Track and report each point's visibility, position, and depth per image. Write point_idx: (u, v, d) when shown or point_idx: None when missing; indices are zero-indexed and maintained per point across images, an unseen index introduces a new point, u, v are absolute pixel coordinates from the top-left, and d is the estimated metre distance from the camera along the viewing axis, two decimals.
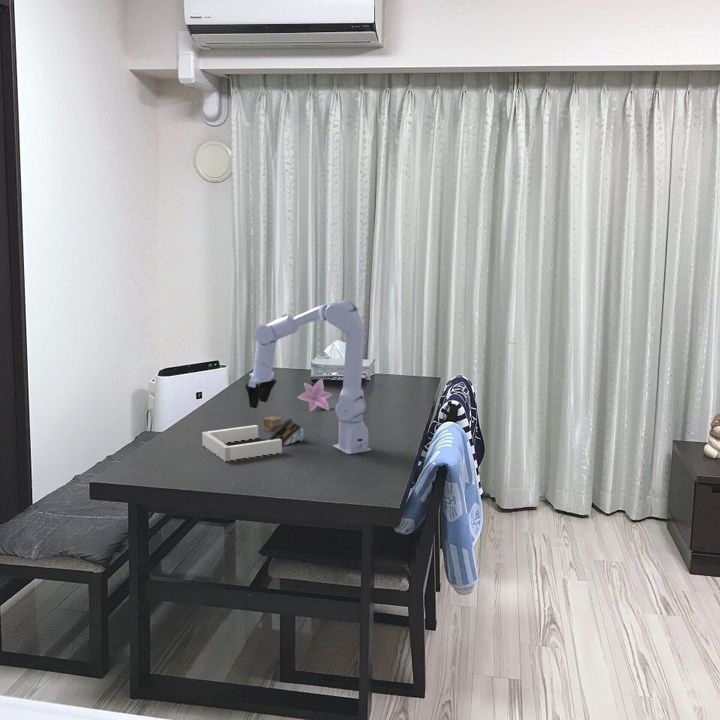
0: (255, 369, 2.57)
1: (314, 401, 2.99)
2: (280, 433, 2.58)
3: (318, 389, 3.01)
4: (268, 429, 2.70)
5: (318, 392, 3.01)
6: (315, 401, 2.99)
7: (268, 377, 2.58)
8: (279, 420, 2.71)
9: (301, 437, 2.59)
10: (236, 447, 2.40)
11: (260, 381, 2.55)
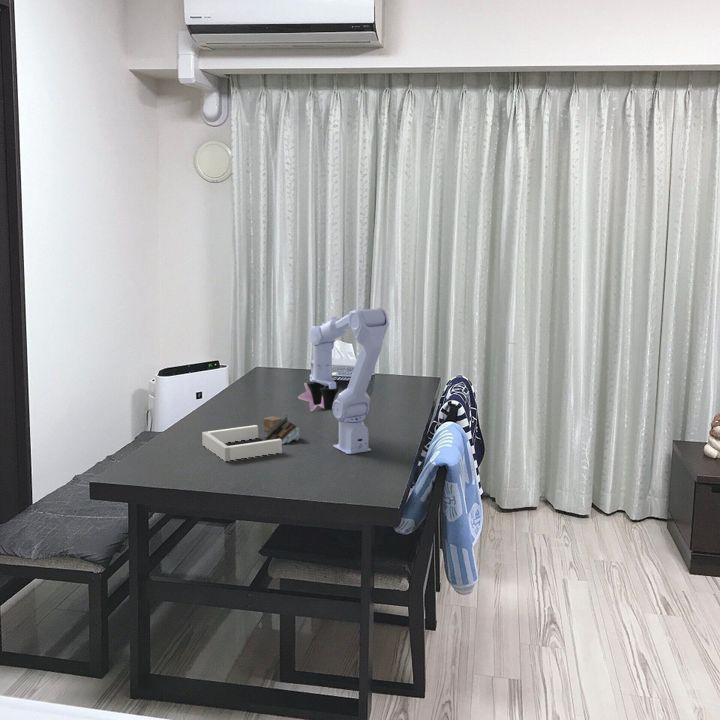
0: (321, 372, 2.58)
1: None
2: (276, 432, 2.59)
3: None
4: (268, 429, 2.70)
5: None
6: None
7: (331, 376, 2.62)
8: (279, 420, 2.71)
9: (297, 436, 2.60)
10: (236, 447, 2.40)
11: (333, 381, 2.58)
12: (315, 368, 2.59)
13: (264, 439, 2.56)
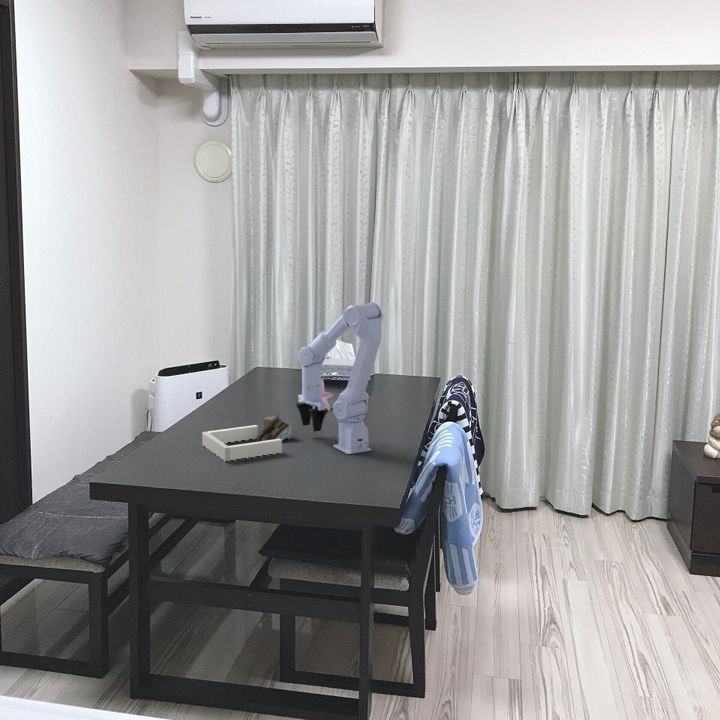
0: (310, 393, 2.57)
1: None
2: (269, 431, 2.60)
3: None
4: None
5: None
6: None
7: (320, 397, 2.60)
8: None
9: (289, 435, 2.61)
10: (236, 447, 2.40)
11: (322, 402, 2.57)
12: (304, 389, 2.58)
13: (257, 438, 2.57)
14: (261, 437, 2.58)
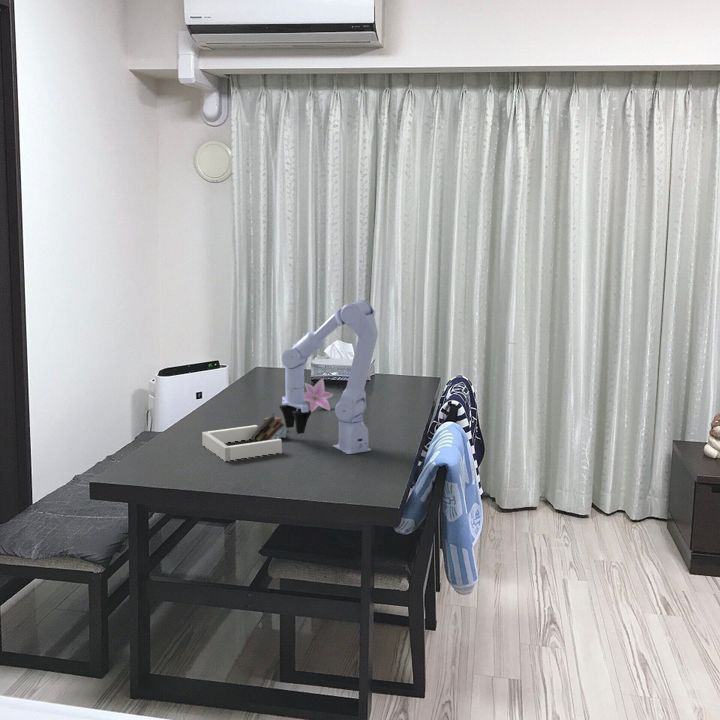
0: (294, 395, 2.54)
1: (315, 401, 2.99)
2: (264, 431, 2.61)
3: (319, 389, 3.01)
4: None
5: (319, 392, 3.01)
6: (316, 401, 2.99)
7: None
8: (279, 420, 2.71)
9: (285, 434, 2.62)
10: (236, 447, 2.40)
11: None
12: (287, 391, 2.55)
13: (252, 438, 2.58)
14: (256, 437, 2.59)
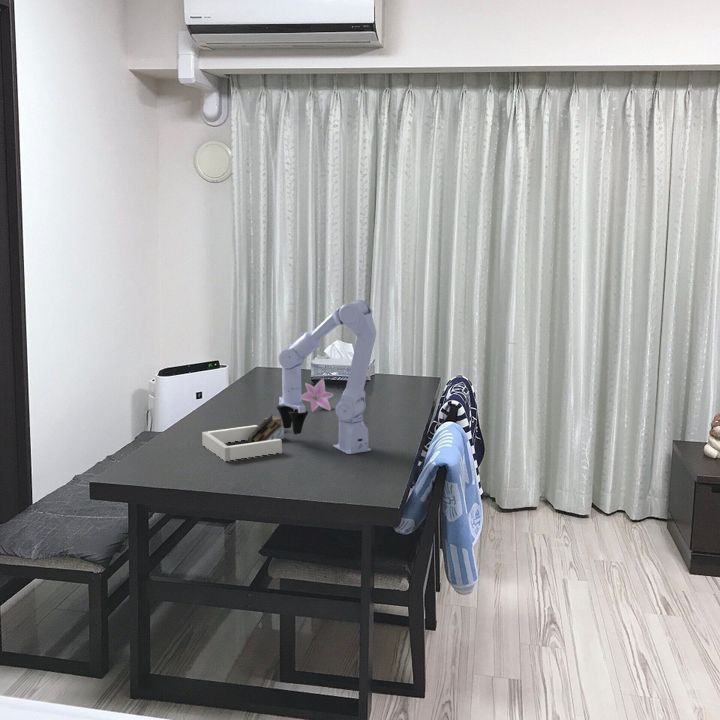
0: (291, 396, 2.54)
1: (315, 401, 2.99)
2: (261, 431, 2.59)
3: (320, 389, 3.01)
4: None
5: (319, 392, 3.01)
6: (316, 401, 2.99)
7: None
8: (279, 420, 2.71)
9: (282, 435, 2.60)
10: (236, 447, 2.40)
11: (303, 405, 2.54)
12: (284, 391, 2.54)
13: (249, 438, 2.57)
14: (253, 437, 2.58)
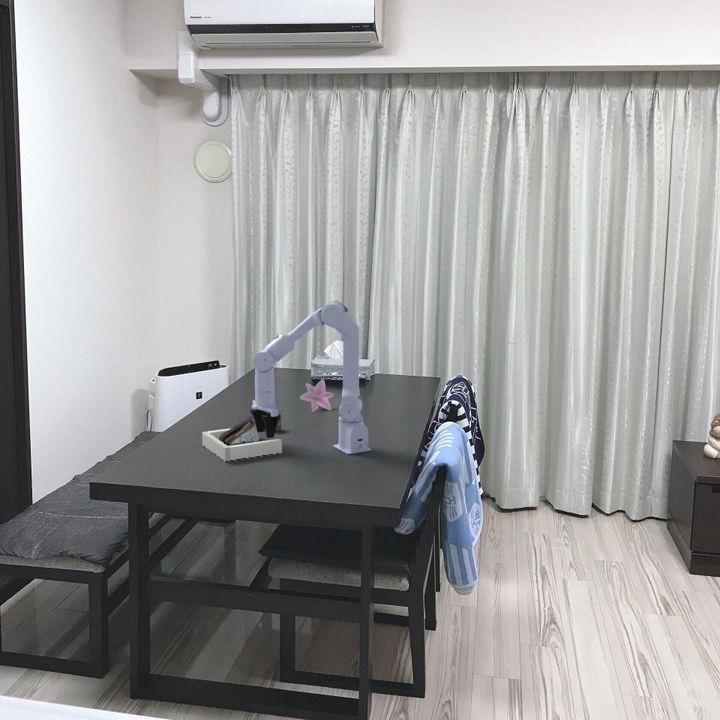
0: (263, 399, 2.49)
1: (316, 401, 2.99)
2: (235, 433, 2.56)
3: (320, 389, 3.00)
4: None
5: (320, 393, 3.00)
6: (317, 401, 2.99)
7: (274, 403, 2.53)
8: (279, 420, 2.71)
9: (253, 437, 2.53)
10: (236, 447, 2.40)
11: None
12: (257, 395, 2.50)
13: (220, 439, 2.55)
14: (225, 438, 2.55)
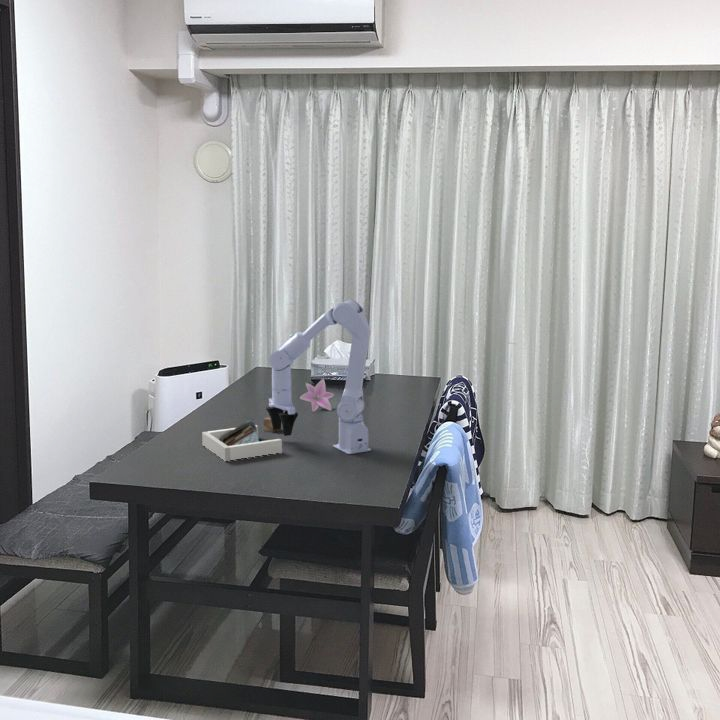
0: (280, 397, 2.52)
1: (316, 401, 2.99)
2: (235, 435, 2.56)
3: (320, 389, 3.00)
4: (268, 429, 2.70)
5: (320, 393, 3.00)
6: (317, 401, 2.99)
7: None
8: None
9: None
10: (236, 447, 2.40)
11: None
12: (274, 393, 2.53)
13: (220, 440, 2.55)
14: (225, 440, 2.55)
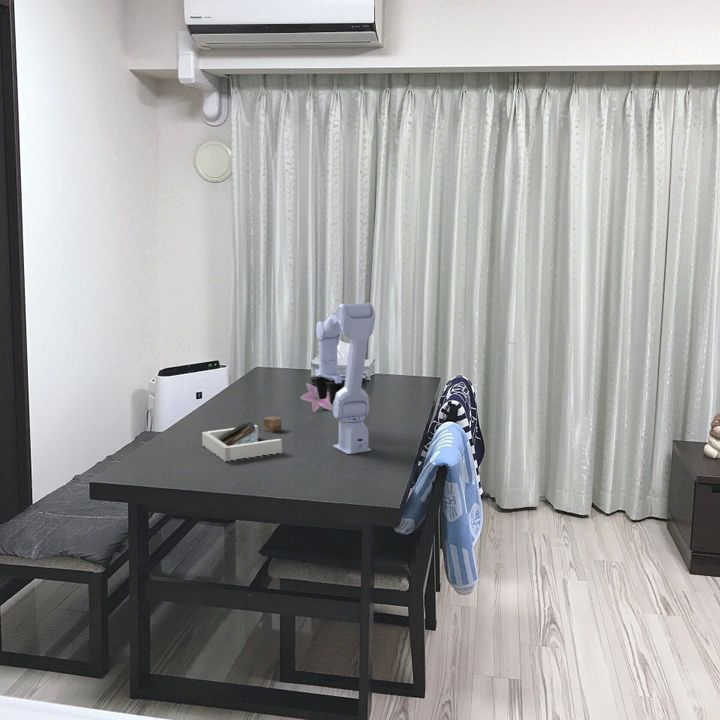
0: (327, 367, 2.64)
1: (317, 401, 2.99)
2: (234, 435, 2.55)
3: None
4: (268, 429, 2.70)
5: None
6: (317, 402, 2.99)
7: None
8: (279, 420, 2.71)
9: (252, 442, 2.53)
10: (236, 447, 2.40)
11: (339, 376, 2.64)
12: (321, 363, 2.65)
13: None
14: (224, 440, 2.55)
